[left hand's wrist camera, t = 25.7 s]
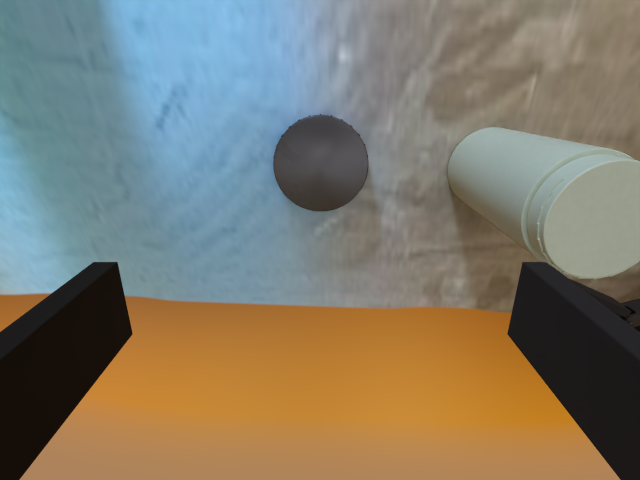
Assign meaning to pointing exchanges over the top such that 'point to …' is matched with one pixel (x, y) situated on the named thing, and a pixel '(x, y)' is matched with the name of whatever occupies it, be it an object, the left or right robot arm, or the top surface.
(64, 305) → the left robot arm
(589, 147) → the jar
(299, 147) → the lid
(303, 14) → the top surface
